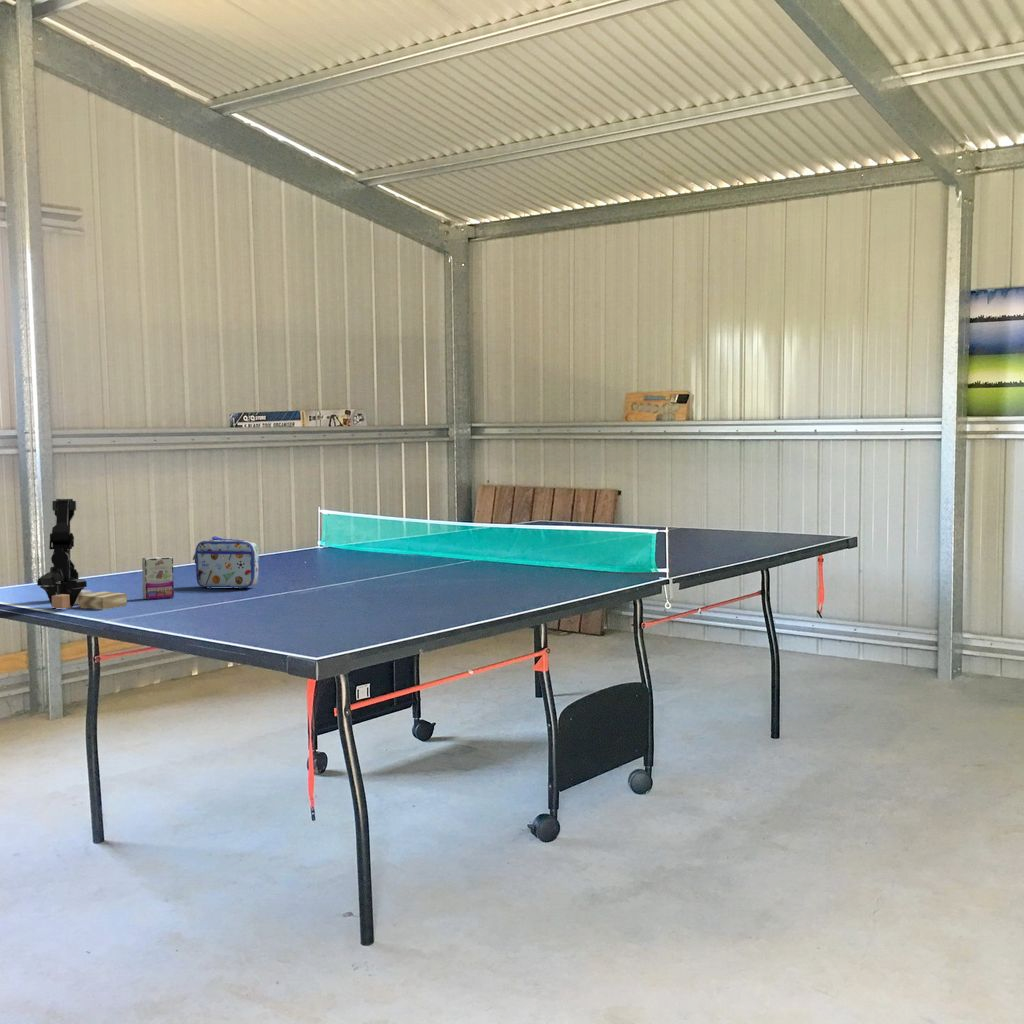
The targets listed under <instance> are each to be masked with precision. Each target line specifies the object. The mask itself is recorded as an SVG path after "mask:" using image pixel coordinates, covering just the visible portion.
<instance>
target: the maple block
mask: <svg viewBox="0 0 1024 1024" xmlns="http://www.w3.org/2000/svg"><path fill="white" fill-rule="evenodd" d="M127 595H128V593H122V592H114V591H103V590H102V591H98V592H97V591H96V592H92V593H90V594H83V595H78V600H79V605H78V608H79V607H81V608H80V609H87V608H92V609H91V610H97V609H102V610H101V611H105V610H104V609H106V610H110V609H109V608H112V609H115V608H114V607H117V608H121V607H120V606H123V607H126V606H125V605H127V604H128V598H127V597H128V596H127ZM127 606H128V605H127Z"/></svg>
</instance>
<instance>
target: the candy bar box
mask: <svg viewBox="0 0 1024 1024" xmlns="http://www.w3.org/2000/svg"><path fill="white" fill-rule="evenodd" d="M141 564H142V565H141V567H142V570H141V571H142V573H141V574H142V575H141V577H142V599H143V598H144V599H143V600H145V599H154V600H160V599H159V598H166V599H173V598H172V597H174V598H175V595H174V594H175V589H174V588H175V587H174V557H172V556H158V557H156V556H155V557H142V559H141Z"/></svg>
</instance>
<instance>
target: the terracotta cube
mask: <svg viewBox="0 0 1024 1024" xmlns="http://www.w3.org/2000/svg"><path fill="white" fill-rule="evenodd" d="M52 607H54V608H62V609H63V608H70V609H72V608H71V606H70V597H69V595H67V594H60V595H53V596H52V605H51V608H52Z"/></svg>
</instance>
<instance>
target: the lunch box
mask: <svg viewBox="0 0 1024 1024" xmlns="http://www.w3.org/2000/svg"><path fill="white" fill-rule="evenodd" d="M259 550H260V549H259V546H258V545H257V543H255V542H253V541H250V540H242V539H241V540H240V539H233V538H222V537H219V536H215V535H214V536H212V537H211V539H208V540H202V541H200V542H198V544H197V545H196V547H195V551H194V554H193V557H192V560H193V561H194V564H195V571H196V572H195V573H196V576H195V577H196V582H197V584H198V586H199V587H201V588H203V587H239V589H246V588H250V587H253V586H255V585H256V584H257V583H258V581H259V557H260V555H259V554H260V551H259ZM249 586H250V587H249Z"/></svg>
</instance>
